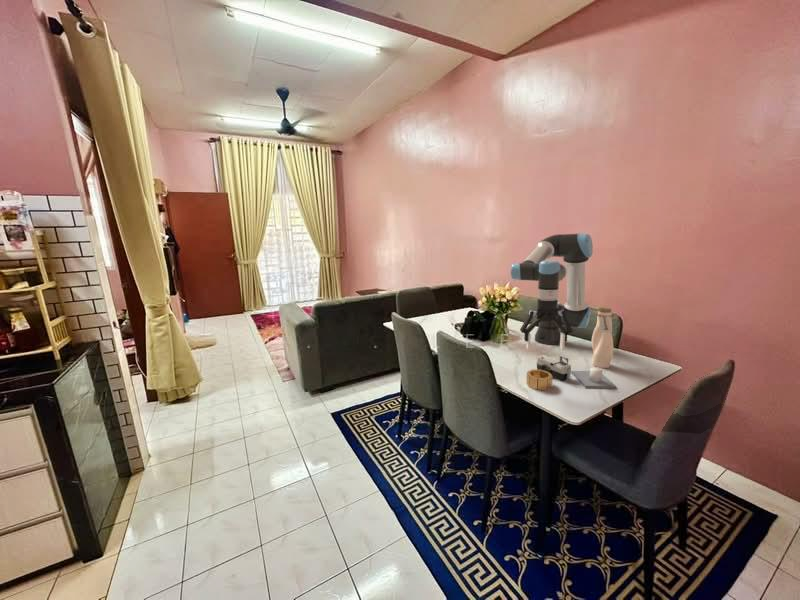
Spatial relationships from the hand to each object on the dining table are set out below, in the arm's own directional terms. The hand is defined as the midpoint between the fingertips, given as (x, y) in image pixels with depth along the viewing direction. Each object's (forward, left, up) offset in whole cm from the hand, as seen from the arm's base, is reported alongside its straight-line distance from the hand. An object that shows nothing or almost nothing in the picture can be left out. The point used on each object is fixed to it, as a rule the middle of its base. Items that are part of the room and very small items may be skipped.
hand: (544, 348), depth 135 cm
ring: (0, -2, -17) cm, 17 cm away
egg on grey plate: (-6, +22, -17) cm, 28 cm away
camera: (-11, +7, -17) cm, 21 cm away
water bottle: (-22, +33, -17) cm, 43 cm away
